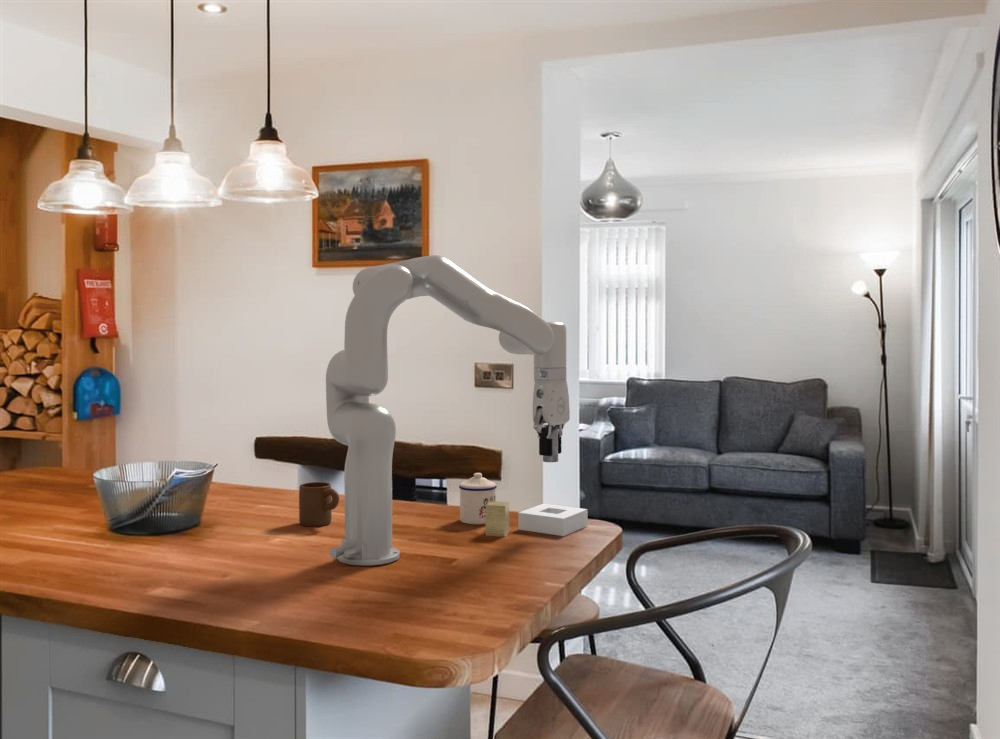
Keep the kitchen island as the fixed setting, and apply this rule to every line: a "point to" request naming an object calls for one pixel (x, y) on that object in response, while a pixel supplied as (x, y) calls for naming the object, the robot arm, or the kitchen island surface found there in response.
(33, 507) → the kitchen island surface
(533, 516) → the block
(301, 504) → the mug
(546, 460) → the round bit
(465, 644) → the kitchen island surface
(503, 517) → the square bit
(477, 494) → the teacup with lid
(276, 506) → the kitchen island surface
